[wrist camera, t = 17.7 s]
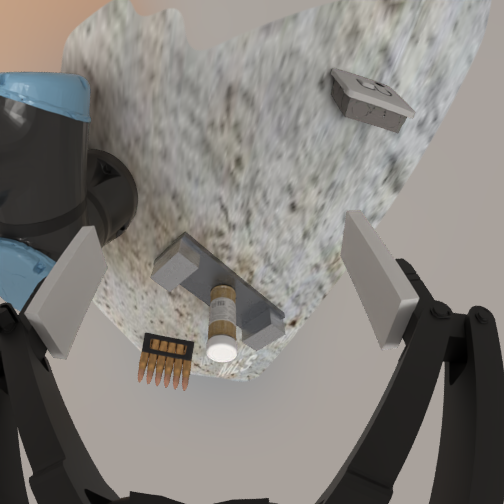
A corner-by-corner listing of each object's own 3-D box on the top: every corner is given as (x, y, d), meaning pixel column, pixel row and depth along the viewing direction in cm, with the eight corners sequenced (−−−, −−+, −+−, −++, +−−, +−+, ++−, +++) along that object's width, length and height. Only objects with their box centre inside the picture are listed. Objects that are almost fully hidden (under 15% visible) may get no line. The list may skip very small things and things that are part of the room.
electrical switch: (390, 86, 36) (421, 101, 29) (380, 117, 39) (408, 138, 32) (330, 66, 35) (352, 75, 27) (321, 100, 38) (340, 117, 31)
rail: (155, 260, 51) (148, 279, 46) (185, 231, 48) (180, 249, 44) (253, 332, 62) (254, 352, 57) (284, 312, 59) (287, 332, 55)
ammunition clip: (145, 337, 62) (134, 383, 52) (145, 332, 61) (134, 378, 51) (193, 347, 64) (188, 393, 54) (194, 341, 63) (189, 389, 53)
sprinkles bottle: (211, 303, 55) (207, 363, 44) (209, 283, 52) (204, 345, 41) (237, 302, 55) (238, 363, 44) (236, 283, 53) (236, 344, 41)
